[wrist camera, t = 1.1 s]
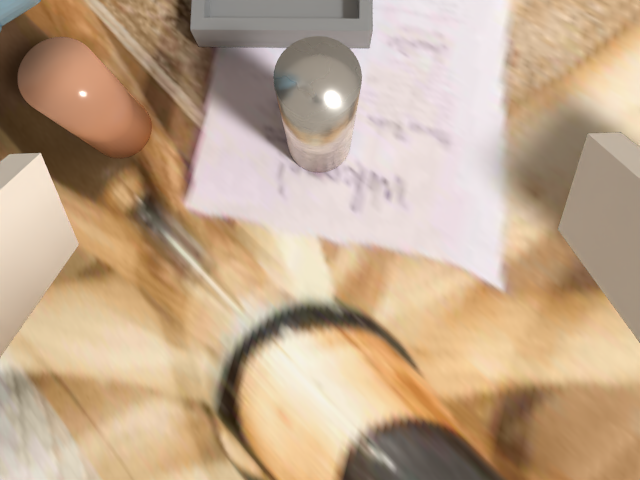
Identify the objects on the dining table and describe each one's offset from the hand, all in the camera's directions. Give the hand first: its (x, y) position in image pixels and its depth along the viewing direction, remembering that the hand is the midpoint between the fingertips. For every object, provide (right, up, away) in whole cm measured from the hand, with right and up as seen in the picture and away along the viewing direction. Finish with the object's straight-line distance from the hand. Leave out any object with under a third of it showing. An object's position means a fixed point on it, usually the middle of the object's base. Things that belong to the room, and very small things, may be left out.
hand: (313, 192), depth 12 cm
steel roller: (0, +7, +26) cm, 27 cm away
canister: (-16, +8, +26) cm, 31 cm away
